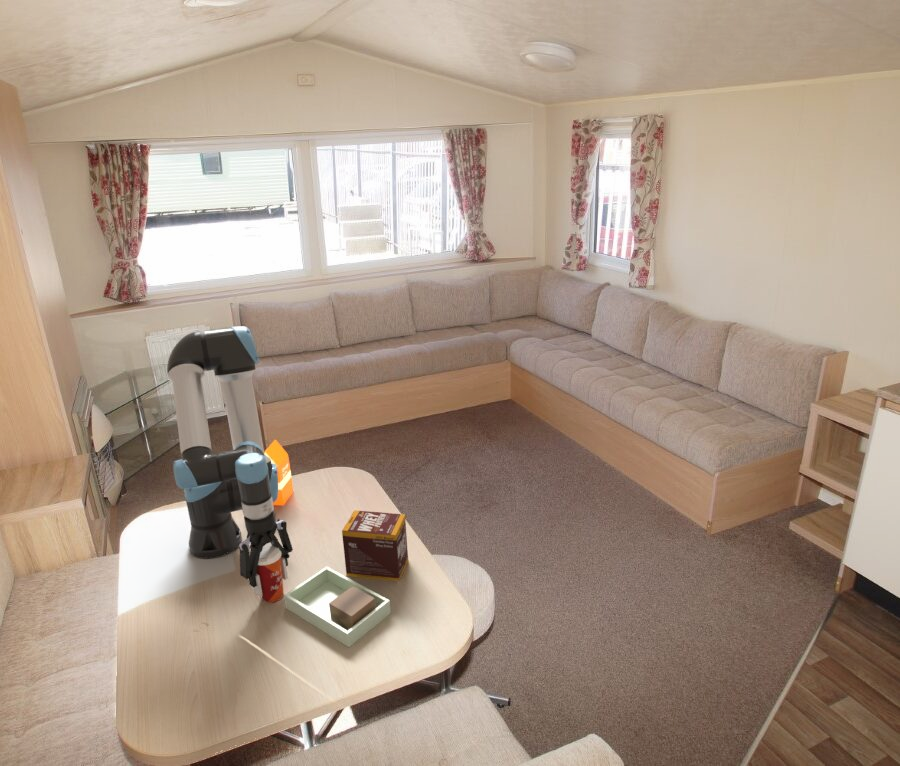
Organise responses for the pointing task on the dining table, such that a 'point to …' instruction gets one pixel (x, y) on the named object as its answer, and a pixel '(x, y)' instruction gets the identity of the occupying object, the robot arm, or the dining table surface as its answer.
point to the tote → (314, 607)
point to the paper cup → (270, 573)
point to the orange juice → (281, 471)
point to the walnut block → (351, 607)
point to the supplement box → (375, 545)
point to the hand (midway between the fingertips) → (271, 585)
